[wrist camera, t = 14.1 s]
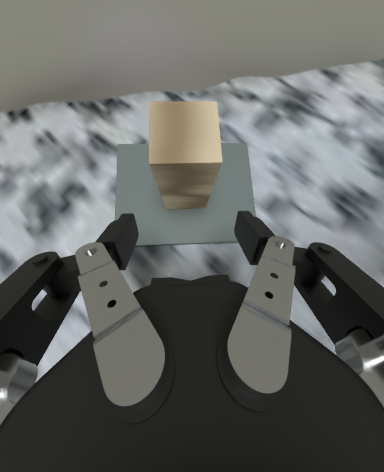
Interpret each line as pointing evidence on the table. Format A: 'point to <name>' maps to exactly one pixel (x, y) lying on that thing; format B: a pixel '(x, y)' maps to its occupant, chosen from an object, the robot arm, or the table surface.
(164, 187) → the beech block
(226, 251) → the table surface
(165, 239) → the plate
